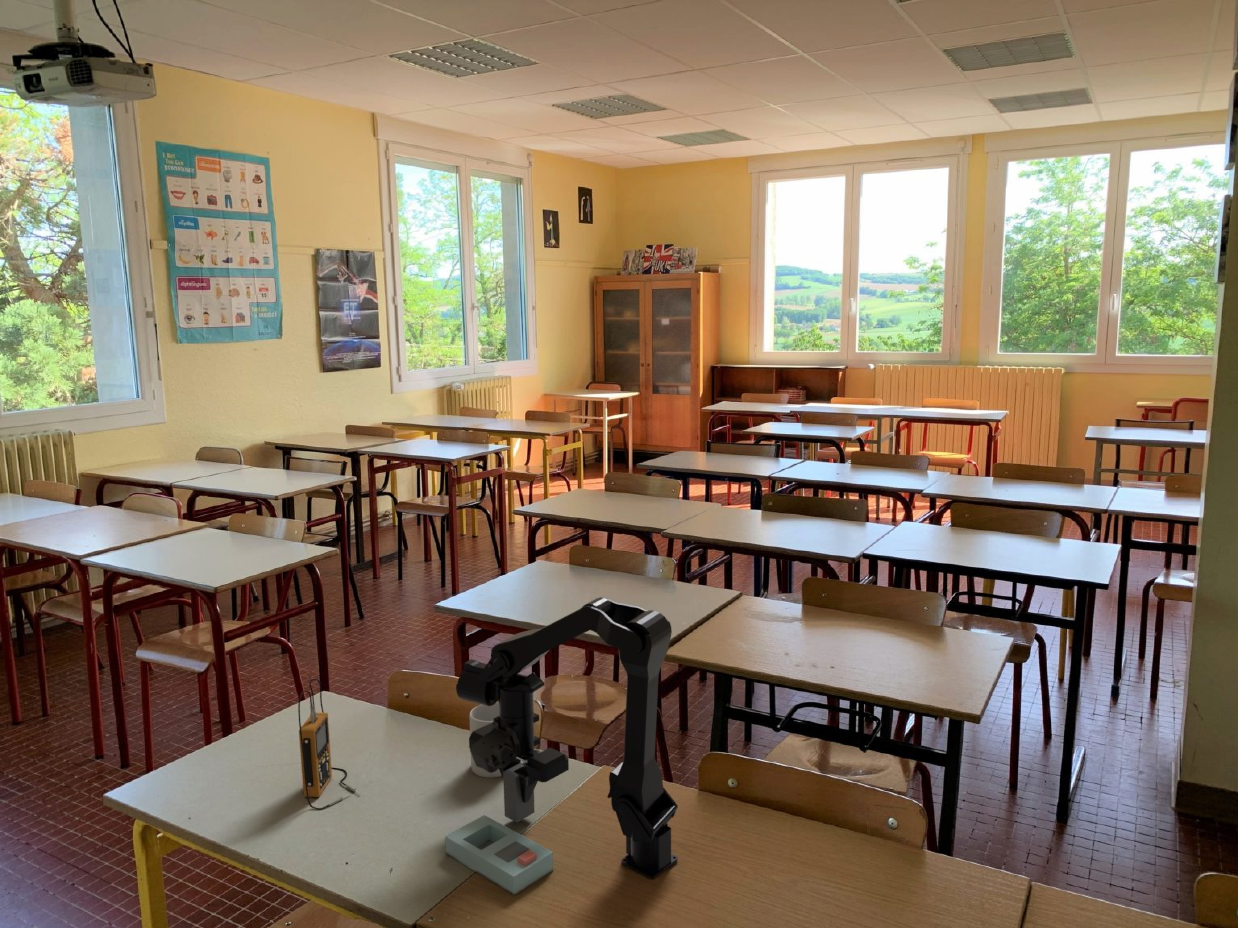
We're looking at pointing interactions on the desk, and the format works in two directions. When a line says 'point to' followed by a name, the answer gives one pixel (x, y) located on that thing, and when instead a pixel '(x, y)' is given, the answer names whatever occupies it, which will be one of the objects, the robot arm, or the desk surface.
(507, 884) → the power strip
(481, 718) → the mug
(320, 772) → the multimeter
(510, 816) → the plug
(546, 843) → the desk surface
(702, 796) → the desk surface
